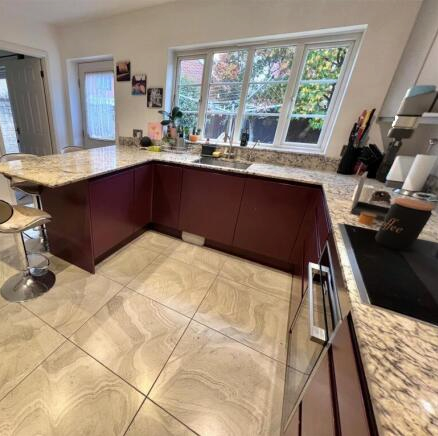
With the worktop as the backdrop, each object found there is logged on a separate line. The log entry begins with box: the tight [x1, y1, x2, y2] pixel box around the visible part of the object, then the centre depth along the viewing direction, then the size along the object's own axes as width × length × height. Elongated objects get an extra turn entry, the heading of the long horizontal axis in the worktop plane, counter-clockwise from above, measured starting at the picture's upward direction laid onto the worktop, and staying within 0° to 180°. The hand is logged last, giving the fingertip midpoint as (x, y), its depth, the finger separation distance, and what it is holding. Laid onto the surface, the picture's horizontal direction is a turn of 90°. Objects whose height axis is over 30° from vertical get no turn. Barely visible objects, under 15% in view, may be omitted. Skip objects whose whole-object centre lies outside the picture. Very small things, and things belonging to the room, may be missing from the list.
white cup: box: [351, 183, 375, 203], centre depth 139 cm, size 8×8×10 cm
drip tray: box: [350, 201, 390, 222], centre depth 122 cm, size 15×19×3 cm
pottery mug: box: [369, 190, 392, 205], centre depth 140 cm, size 12×10×8 cm
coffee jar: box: [374, 197, 437, 252], centre depth 90 cm, size 11×11×18 cm
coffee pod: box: [357, 212, 377, 226], centre depth 110 cm, size 6×6×5 cm
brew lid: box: [350, 171, 369, 209], centre depth 123 cm, size 16×19×1 cm
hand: (379, 178), depth 105 cm, fingers open, 13 cm apart
